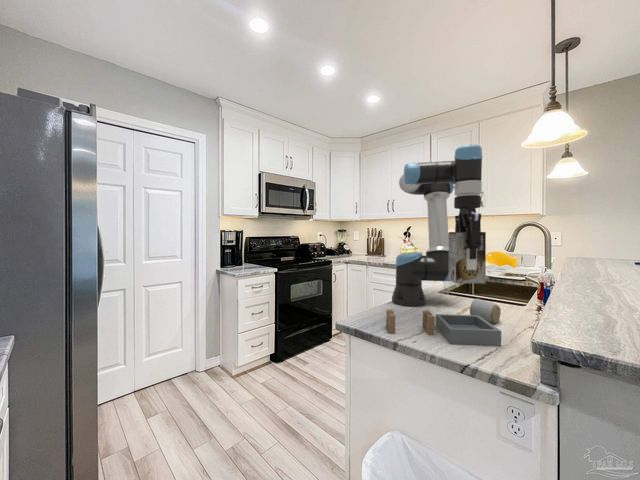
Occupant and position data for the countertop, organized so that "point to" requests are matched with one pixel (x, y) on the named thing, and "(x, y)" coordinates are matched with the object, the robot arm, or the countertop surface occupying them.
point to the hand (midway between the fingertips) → (466, 267)
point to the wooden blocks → (427, 321)
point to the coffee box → (459, 259)
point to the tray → (467, 330)
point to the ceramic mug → (485, 310)
